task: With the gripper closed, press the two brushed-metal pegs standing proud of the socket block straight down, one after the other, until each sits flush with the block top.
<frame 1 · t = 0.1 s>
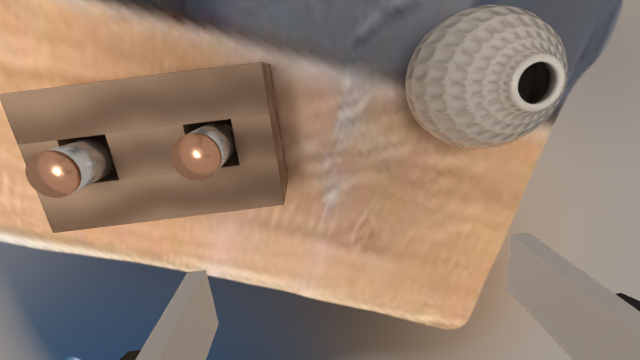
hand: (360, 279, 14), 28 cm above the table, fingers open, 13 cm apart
peg 2: (208, 148, 31), point 9 cm above the table, slide at 0.0 cm
socket block: (179, 138, 40), on the table
vase: (444, 79, 39), on the table
peg 1: (80, 163, 31), point 9 cm above the table, slide at 0.0 cm
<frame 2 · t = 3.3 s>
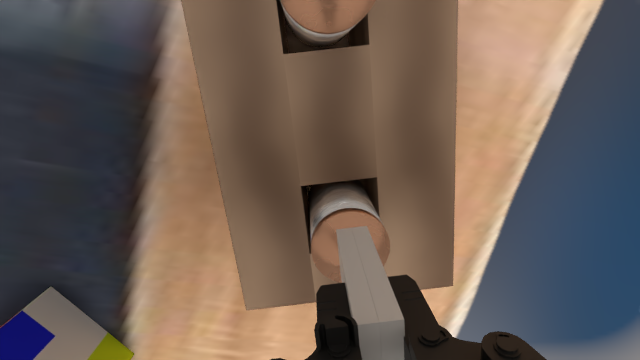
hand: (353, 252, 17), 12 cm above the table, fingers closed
socket block: (324, 106, 26), on the table
puzzle toy: (60, 346, 33), on the table
peg 1: (342, 218, 20), point 8 cm above the table, slide at 1.0 cm, touching gripper
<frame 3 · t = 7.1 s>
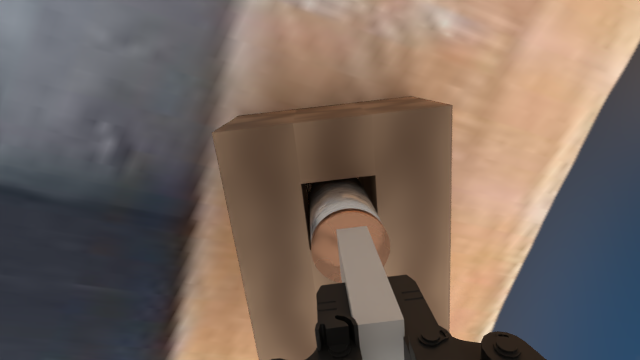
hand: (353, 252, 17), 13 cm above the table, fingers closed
peg 2: (342, 218, 20), point 9 cm above the table, slide at 0.5 cm, touching gripper
socket block: (338, 239, 31), on the table
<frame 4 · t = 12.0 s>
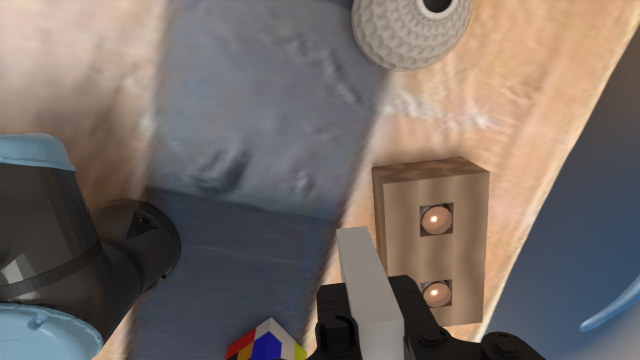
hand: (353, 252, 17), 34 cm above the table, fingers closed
peg 2: (427, 210, 49), point 5 cm above the table, slide at 4.7 cm
socket block: (418, 233, 55), on the table
puzzle toy: (267, 348, 61), on the table
vase: (391, 22, 45), on the table
peg 1: (428, 280, 52), point 5 cm above the table, slide at 4.7 cm
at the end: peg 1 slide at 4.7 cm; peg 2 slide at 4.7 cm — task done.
